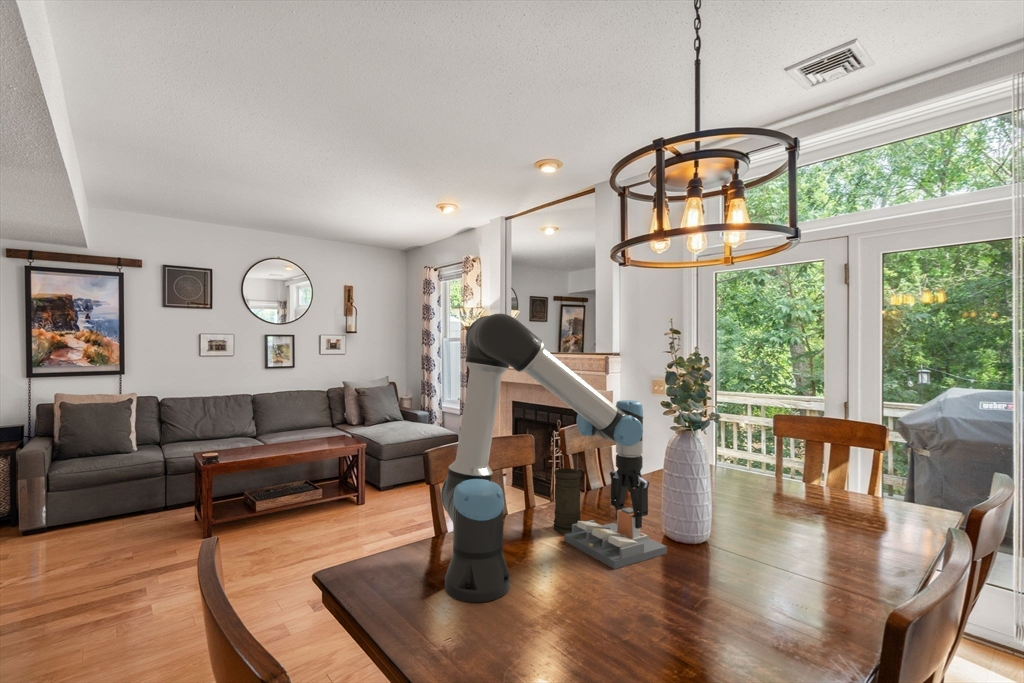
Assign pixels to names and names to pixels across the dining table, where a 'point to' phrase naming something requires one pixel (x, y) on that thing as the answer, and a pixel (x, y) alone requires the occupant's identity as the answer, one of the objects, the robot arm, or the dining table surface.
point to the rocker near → (621, 541)
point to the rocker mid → (604, 533)
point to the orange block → (625, 522)
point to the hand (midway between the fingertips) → (628, 535)
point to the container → (567, 499)
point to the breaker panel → (614, 547)
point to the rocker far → (588, 525)
